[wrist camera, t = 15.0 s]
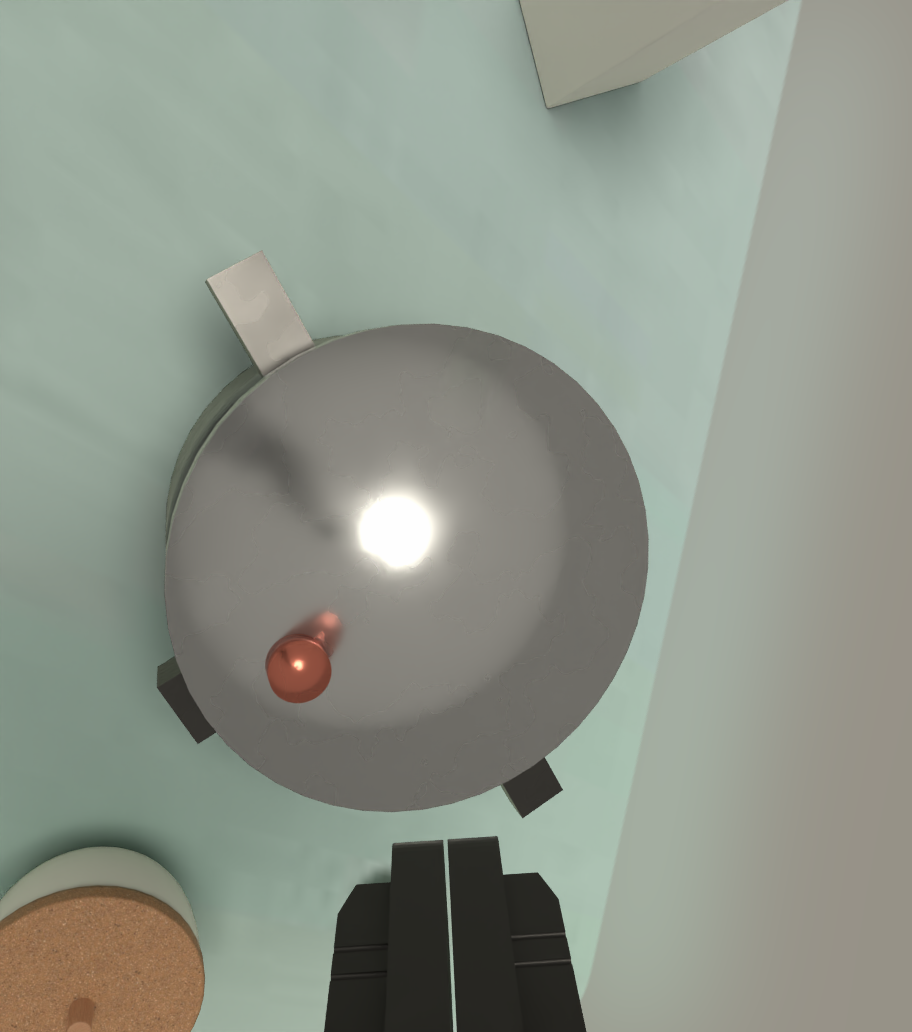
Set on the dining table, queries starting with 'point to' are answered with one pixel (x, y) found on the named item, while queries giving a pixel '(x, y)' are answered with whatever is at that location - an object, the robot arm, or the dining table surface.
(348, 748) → the lid
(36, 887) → the lidded jar
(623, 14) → the milk
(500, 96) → the dining table surface
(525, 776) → the cooker pot
